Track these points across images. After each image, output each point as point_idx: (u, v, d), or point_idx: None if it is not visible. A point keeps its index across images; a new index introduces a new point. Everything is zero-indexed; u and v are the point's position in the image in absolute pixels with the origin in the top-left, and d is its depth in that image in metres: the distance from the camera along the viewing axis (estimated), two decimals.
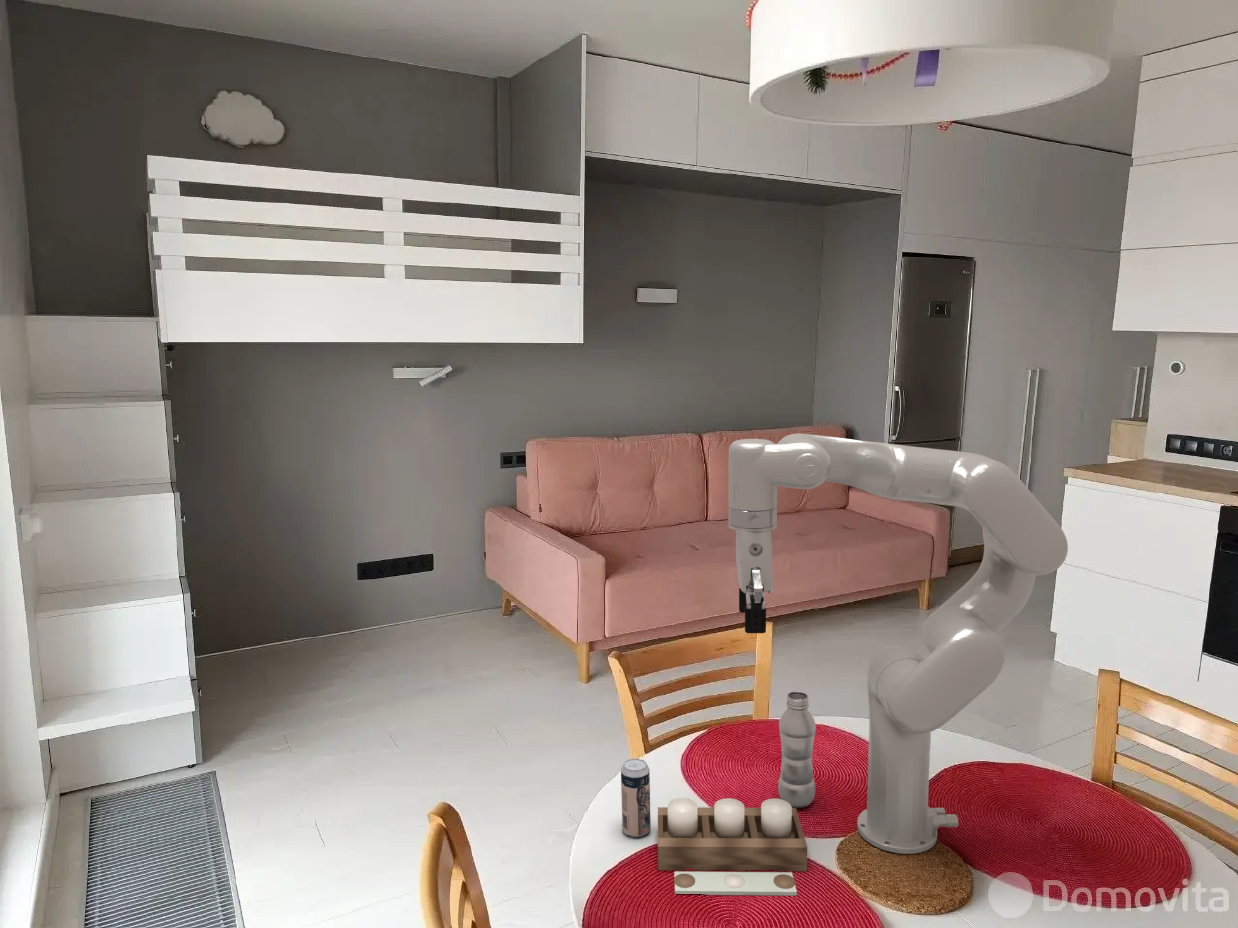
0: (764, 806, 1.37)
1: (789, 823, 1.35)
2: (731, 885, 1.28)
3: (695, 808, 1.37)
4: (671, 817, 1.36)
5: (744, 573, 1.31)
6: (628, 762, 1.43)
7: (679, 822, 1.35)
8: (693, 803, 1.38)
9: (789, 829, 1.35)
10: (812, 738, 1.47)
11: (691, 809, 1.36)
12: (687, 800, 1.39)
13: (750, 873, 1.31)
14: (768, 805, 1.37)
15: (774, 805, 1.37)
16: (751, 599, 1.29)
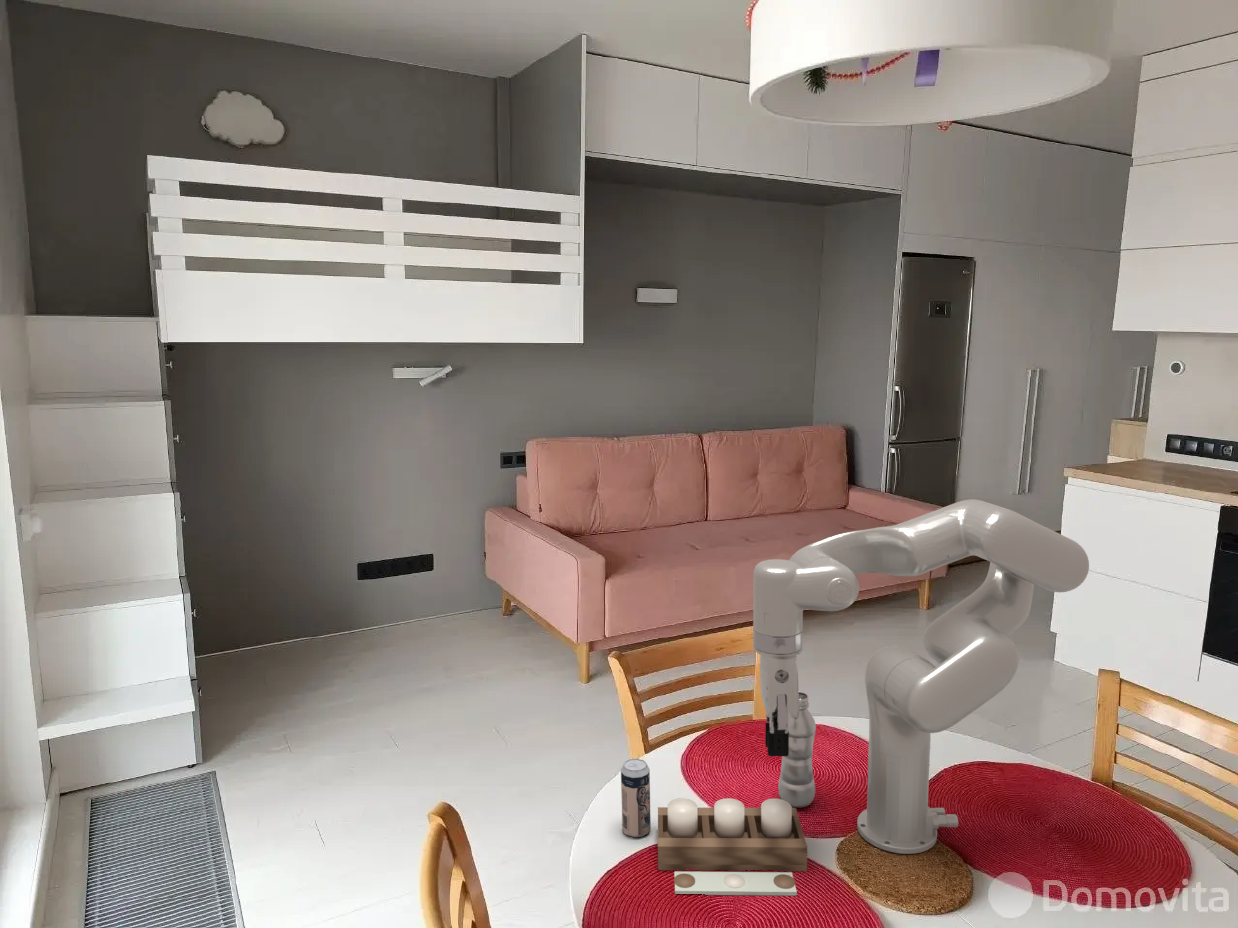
0: (764, 806, 1.37)
1: (789, 823, 1.35)
2: (731, 885, 1.28)
3: (695, 808, 1.37)
4: (671, 817, 1.36)
5: (770, 699, 1.29)
6: (628, 762, 1.43)
7: (679, 822, 1.35)
8: (693, 803, 1.38)
9: (789, 829, 1.35)
10: (812, 738, 1.47)
11: (691, 809, 1.36)
12: (687, 800, 1.39)
13: (750, 873, 1.31)
14: (768, 805, 1.37)
15: (774, 805, 1.37)
16: (774, 725, 1.30)
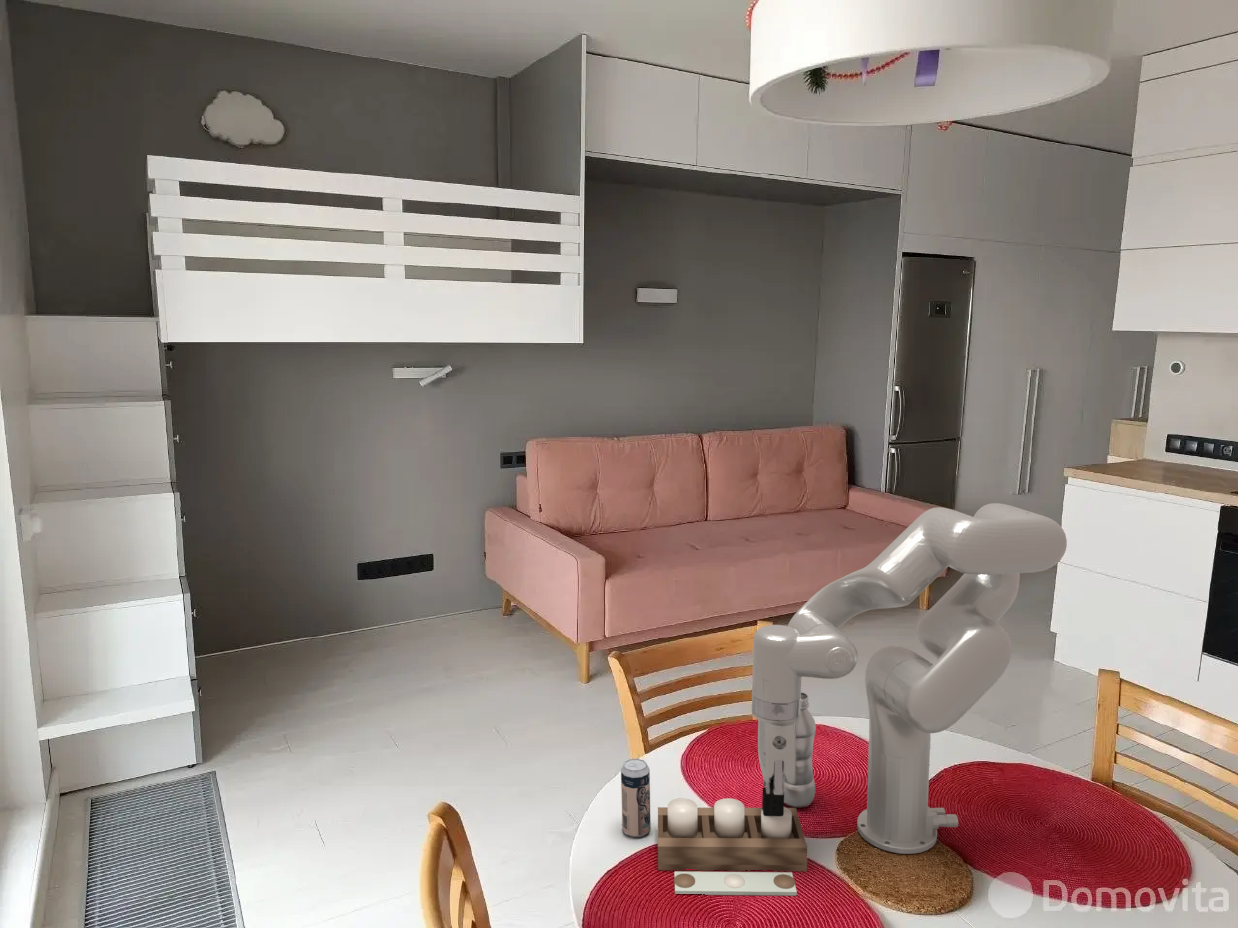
0: None
1: (789, 829, 1.35)
2: (731, 885, 1.28)
3: (695, 808, 1.37)
4: (671, 817, 1.36)
5: (767, 765, 1.30)
6: (628, 762, 1.43)
7: (679, 822, 1.35)
8: (693, 803, 1.38)
9: (789, 835, 1.36)
10: (812, 738, 1.47)
11: (691, 809, 1.36)
12: (687, 800, 1.39)
13: (750, 873, 1.31)
14: None
15: None
16: (770, 787, 1.33)
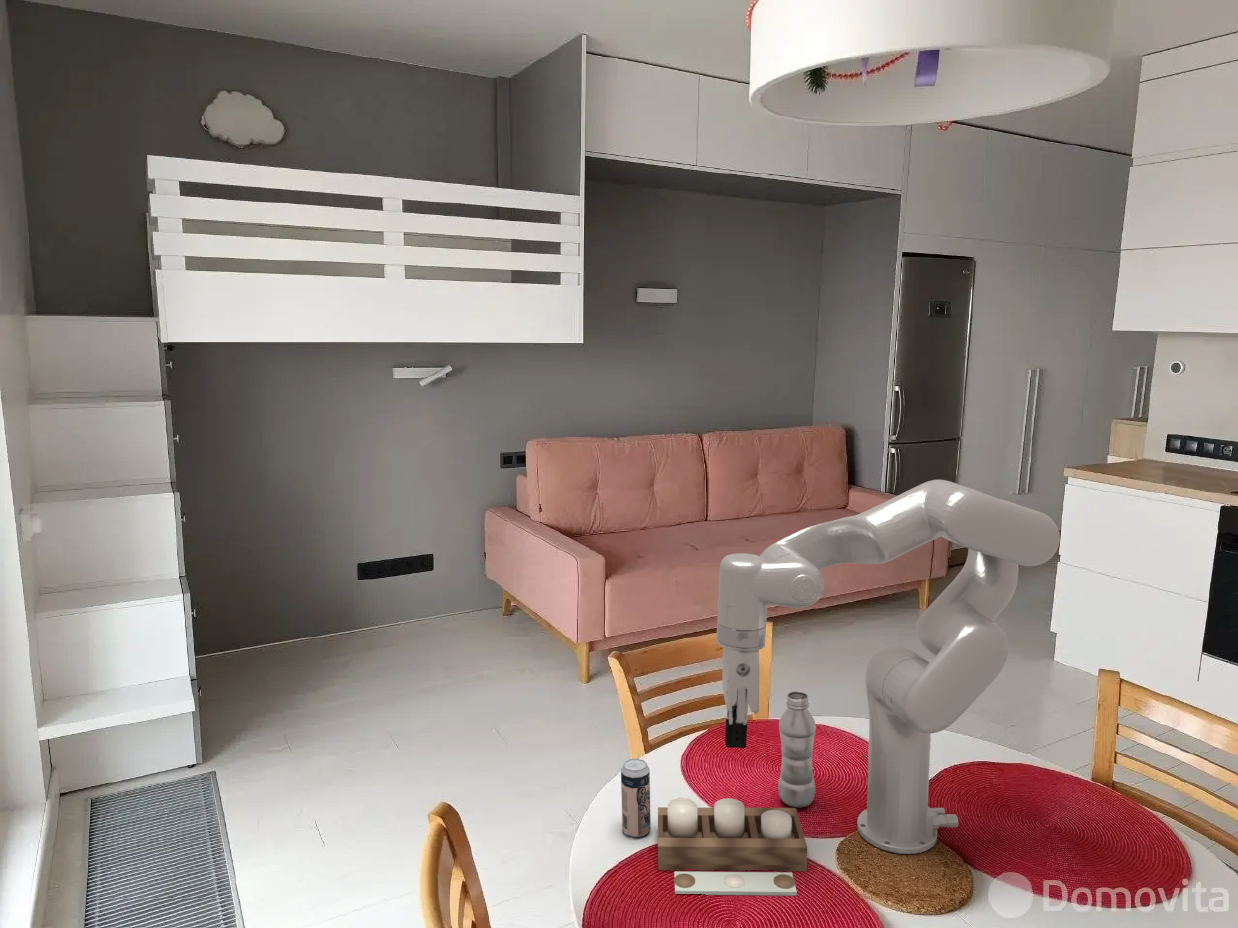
0: (764, 818, 1.37)
1: (788, 834, 1.36)
2: (731, 885, 1.28)
3: (695, 808, 1.37)
4: (671, 817, 1.36)
5: (730, 693, 1.29)
6: (628, 762, 1.43)
7: (679, 822, 1.35)
8: (693, 803, 1.38)
9: None
10: (812, 738, 1.47)
11: (691, 809, 1.36)
12: (687, 800, 1.39)
13: (750, 873, 1.31)
14: (768, 816, 1.37)
15: (774, 816, 1.37)
16: (733, 716, 1.31)
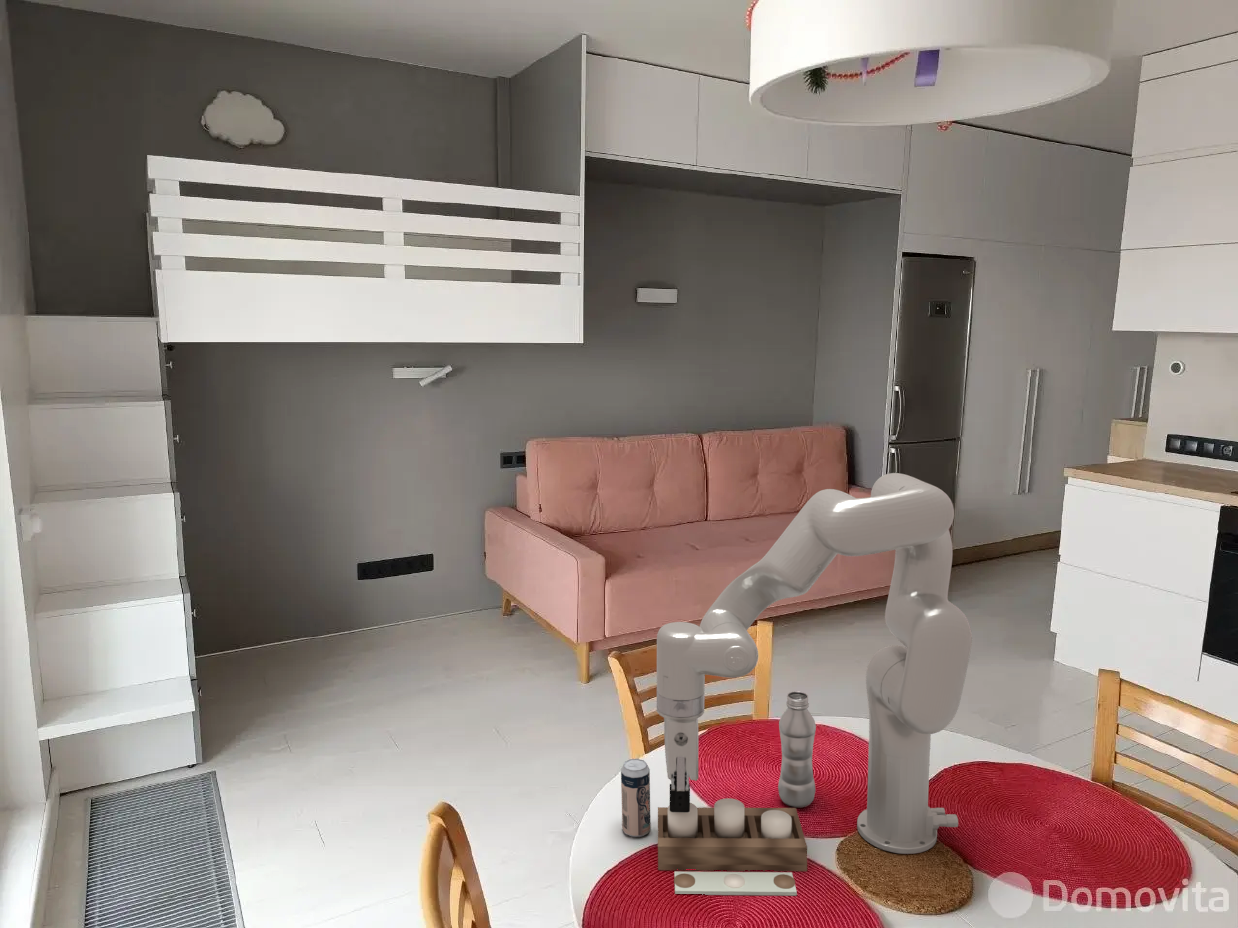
0: (764, 818, 1.37)
1: (788, 834, 1.36)
2: (731, 885, 1.28)
3: (695, 811, 1.37)
4: (671, 820, 1.36)
5: (669, 762, 1.31)
6: (628, 762, 1.43)
7: (679, 825, 1.35)
8: (693, 806, 1.38)
9: None
10: (812, 738, 1.47)
11: (691, 812, 1.36)
12: None
13: (750, 873, 1.31)
14: (768, 816, 1.37)
15: (774, 816, 1.37)
16: (674, 783, 1.33)
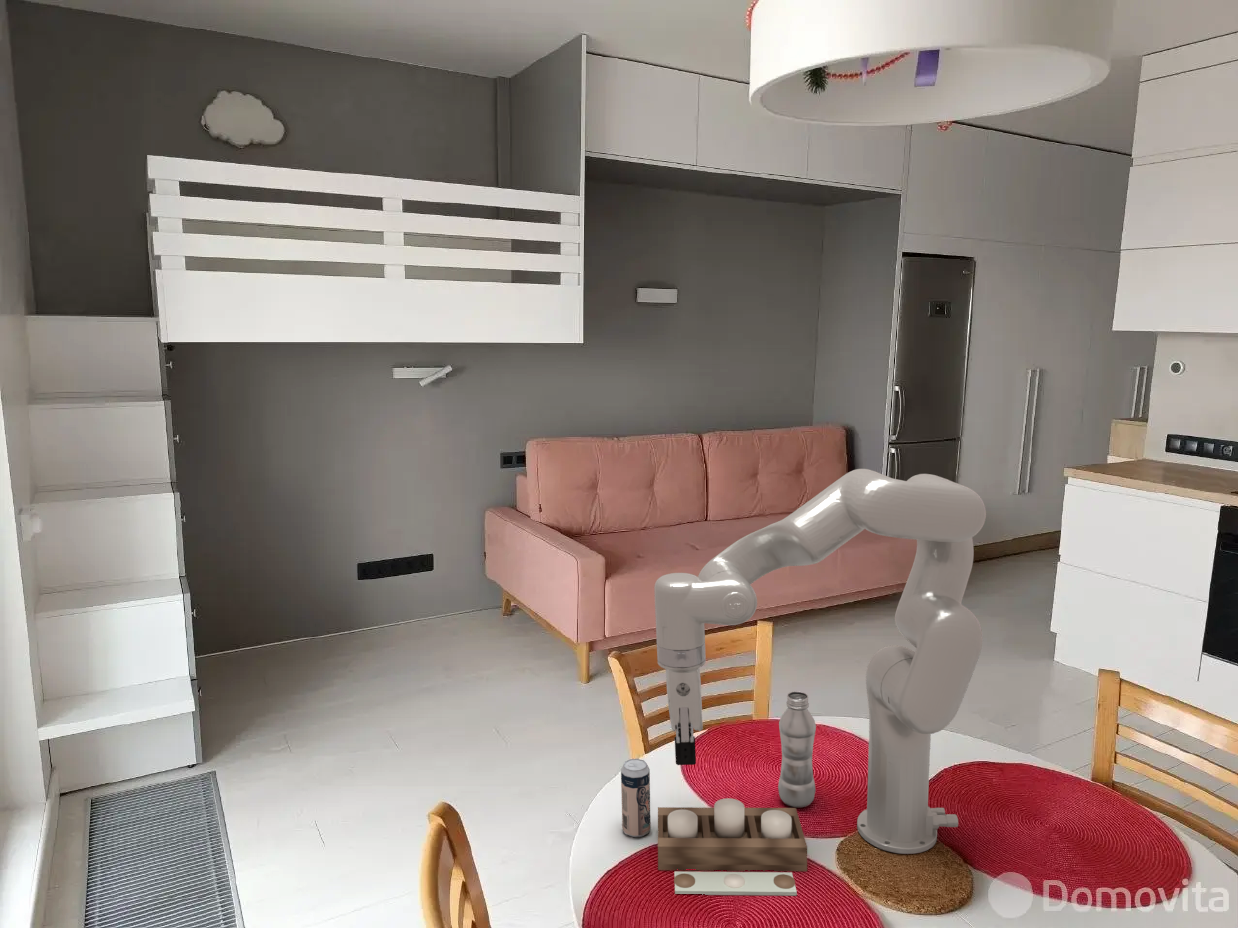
0: (764, 818, 1.37)
1: (788, 834, 1.36)
2: (731, 885, 1.28)
3: (695, 820, 1.37)
4: (671, 829, 1.36)
5: (672, 713, 1.30)
6: (628, 762, 1.43)
7: (679, 833, 1.36)
8: (693, 814, 1.38)
9: None
10: (812, 738, 1.47)
11: (691, 821, 1.37)
12: (687, 811, 1.39)
13: (750, 873, 1.31)
14: (768, 816, 1.37)
15: (774, 816, 1.37)
16: (679, 735, 1.32)
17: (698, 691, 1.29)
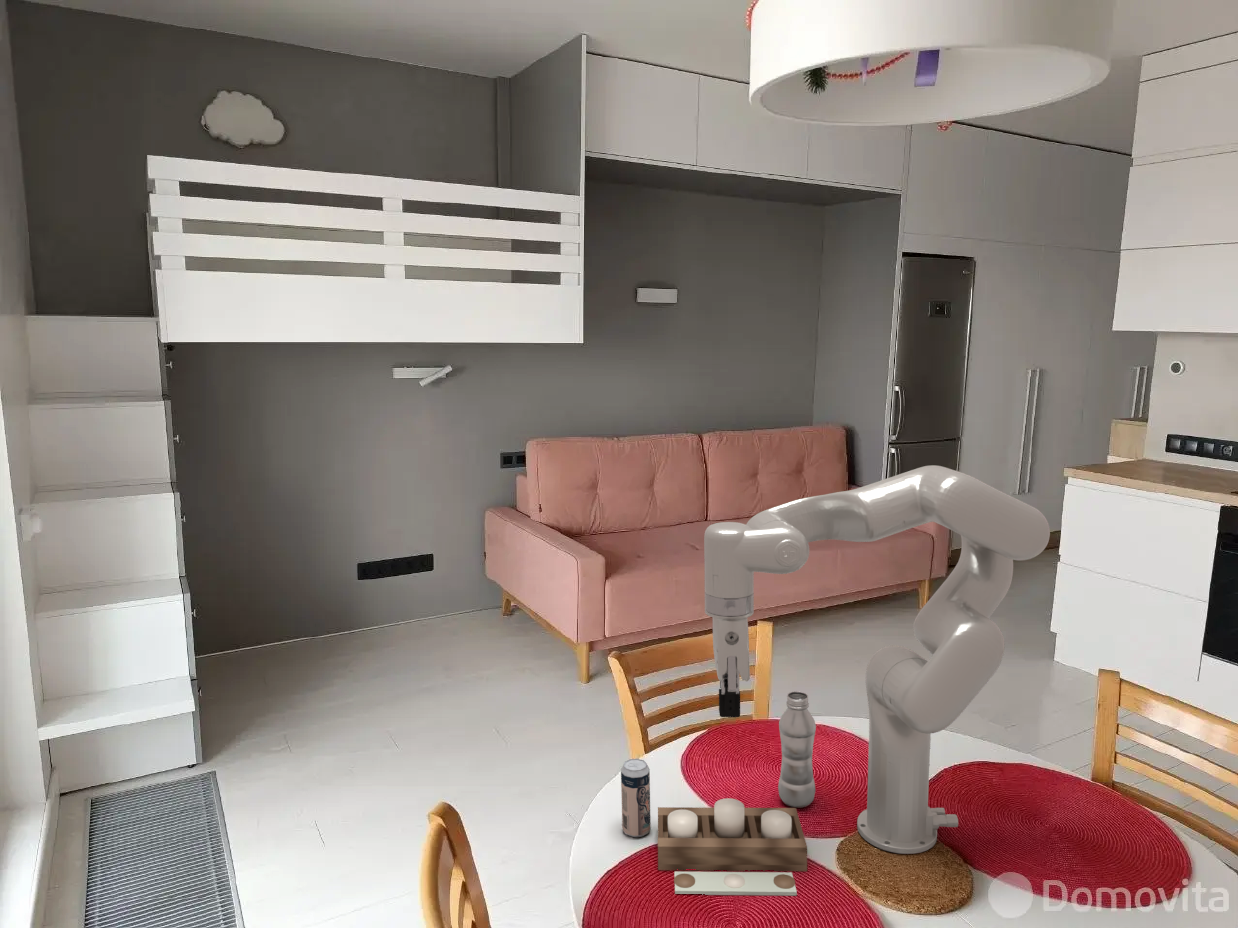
0: (764, 818, 1.37)
1: (788, 834, 1.36)
2: (731, 885, 1.28)
3: (695, 820, 1.37)
4: (671, 829, 1.36)
5: (720, 662, 1.28)
6: (628, 762, 1.43)
7: (679, 833, 1.36)
8: (693, 814, 1.38)
9: None
10: (812, 738, 1.47)
11: (691, 821, 1.37)
12: (687, 811, 1.39)
13: (750, 873, 1.31)
14: (768, 816, 1.37)
15: (774, 816, 1.37)
16: (725, 685, 1.31)
17: (747, 640, 1.28)
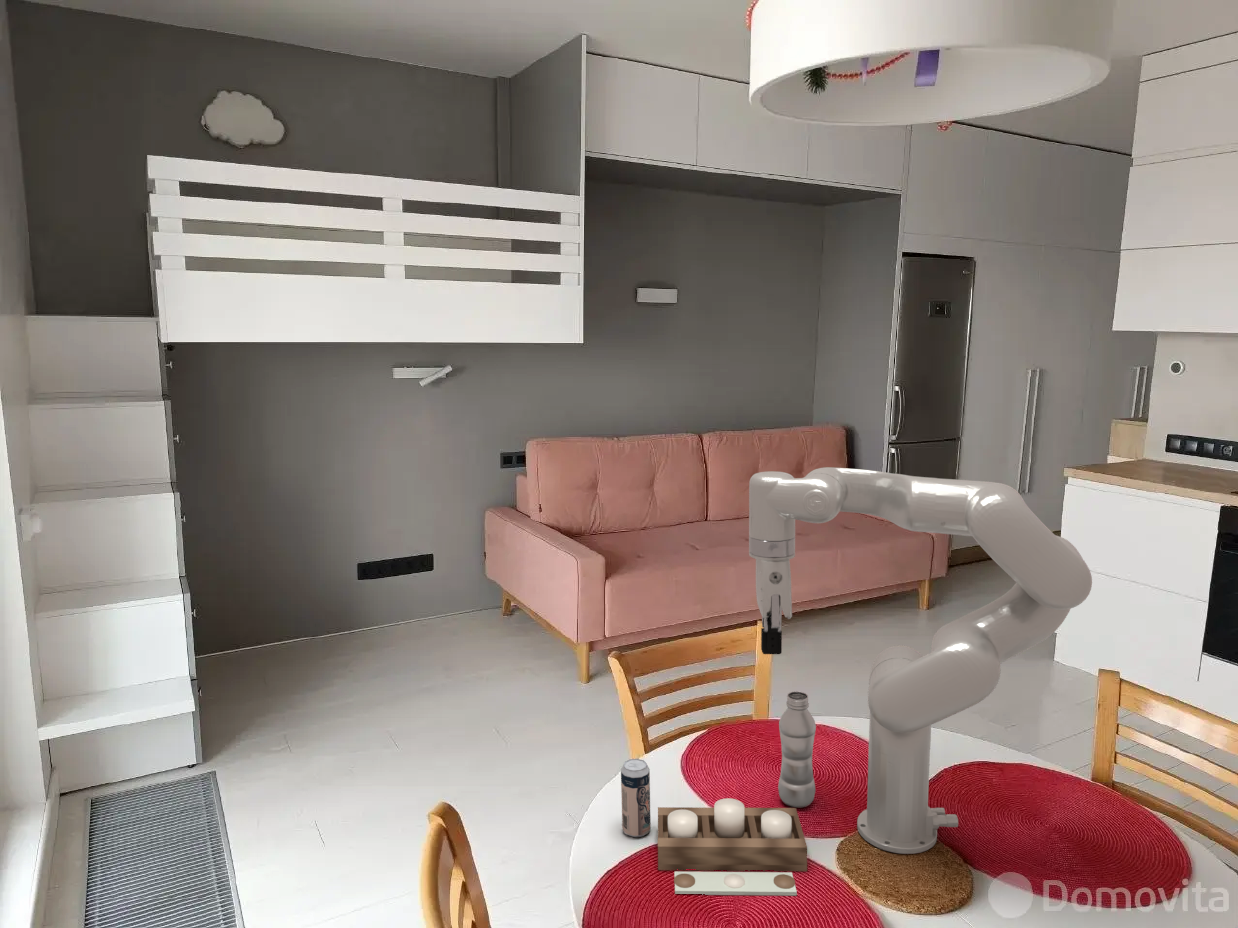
0: (764, 818, 1.37)
1: (788, 834, 1.36)
2: (731, 885, 1.28)
3: (695, 820, 1.37)
4: (671, 829, 1.36)
5: (765, 600, 1.38)
6: (628, 762, 1.43)
7: (679, 833, 1.36)
8: (693, 814, 1.38)
9: None
10: (812, 738, 1.47)
11: (691, 821, 1.37)
12: (687, 811, 1.39)
13: (750, 873, 1.31)
14: (768, 816, 1.37)
15: (774, 816, 1.37)
16: (768, 623, 1.40)
17: (789, 580, 1.37)
